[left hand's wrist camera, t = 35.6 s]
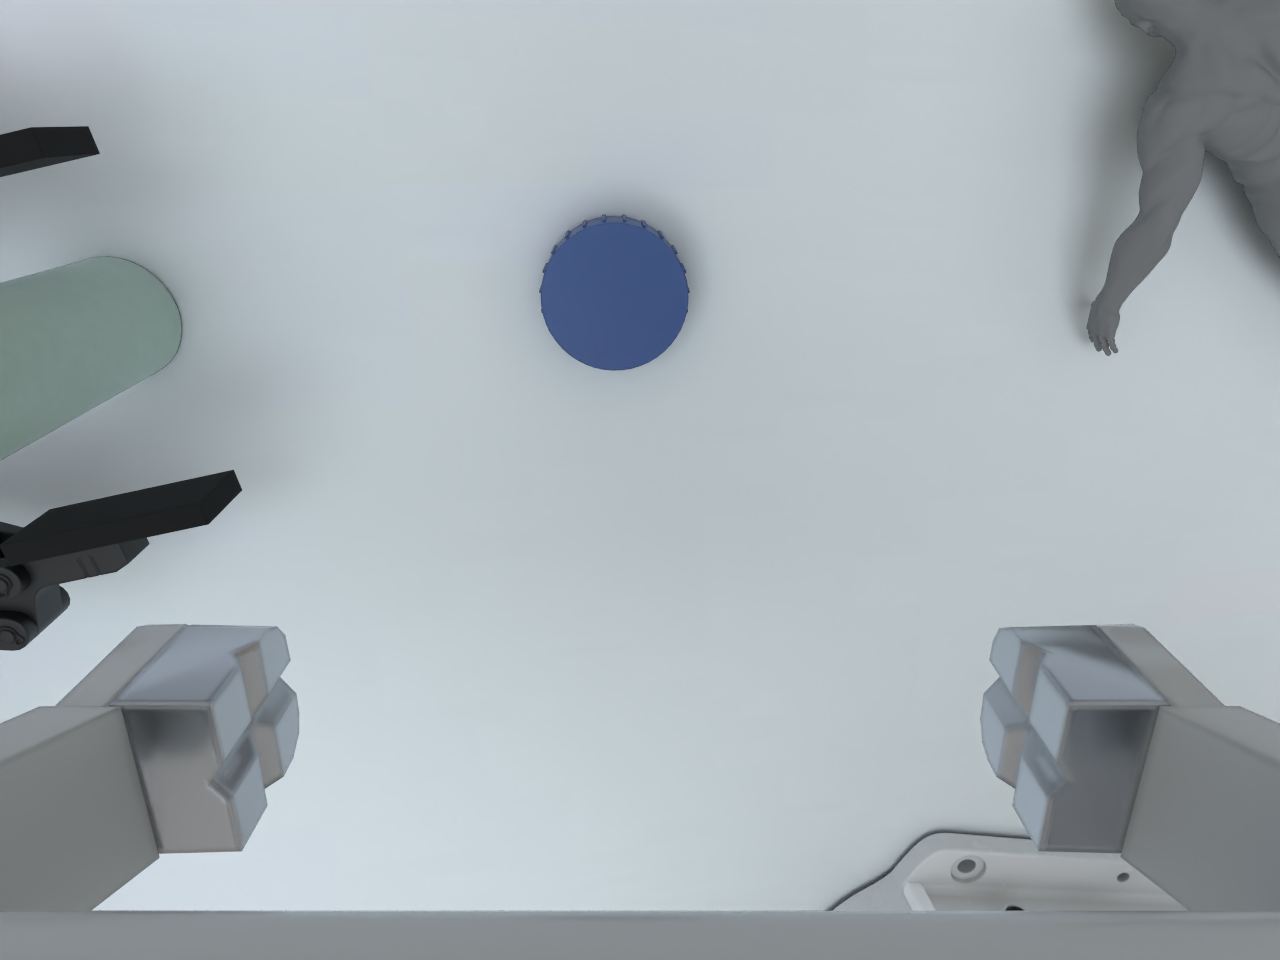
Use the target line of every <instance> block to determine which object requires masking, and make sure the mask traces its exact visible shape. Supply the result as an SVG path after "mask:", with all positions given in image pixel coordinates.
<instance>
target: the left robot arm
mask: <svg viewBox="0 0 1280 960" xmlns="http://www.w3.org/2000/svg"><path fill="white" fill-rule="evenodd" d="M289 662H290V655H289V651H288V646H287V641H286V636H285V634H284V633H283V632H282V631H281V630H280V629H279V628H278V627H277V626H228V625H190V626H189V625H187V624H164V625H145V626H139V627H136V628H135V629H134V630H133V631H132V632H131V633H130V634H129V635H128V636H127V637H126V638H125V639H124V640H123V641H122V642H121V643H120V644H119V645H118V646H117V647H116V648H115V649H114V650H112V651H111V652H110V653H109V654H108V655H107V656H106V657H105V658H104V659H103V660H102V661H101V662H100V663H99V664H98V665H97V666H96V667H95V668H94V669H93V670H92V671H91V672H90V673H89V674H88V675H87V676H86V677H85V678H84V679H83V680H81V681H80V682H79V683H78V684H77V685H76V686H75V687H74V688H73V689H72V690H71V691H70V692H69V693H68V694H67V695H66V696H65V697H64V698H63V699H62V700H61V701H60V702H59V703H58V704H57V705H56V706H42V707H38V708H35V709H33V710H31V711H28V712H26V713H24V714H21V715H19V716H17V717H15V718H12V719H10V720H8V721H5V722H3V723H1V724H0V960H1280V724H1279V723H1277V722H1275V721H1272V720H1270V719H1268V718H1265V717H1263V716H1261V715H1259V714H1256V713H1254V712H1252V711H1249V710H1247V709H1245V708H1242V707H1238V706H1224V705H1223V704H1222V703H1221V702H1220V701H1219V700H1218V699H1217V698H1216V697H1215V696H1214V695H1213V694H1212V693H1211V692H1210V691H1209V690H1208V689H1207V688H1206V687H1205V686H1204V685H1203V684H1202V683H1201V682H1200V681H1199V680H1198V679H1197V678H1196V677H1195V676H1193V675H1192V674H1191V673H1190V672H1189V671H1188V670H1187V669H1186V668H1185V667H1184V666H1183V665H1182V664H1181V663H1180V662H1179V661H1178V660H1177V659H1176V658H1175V657H1174V656H1173V655H1172V654H1171V653H1170V652H1169V651H1168V650H1167V649H1166V648H1165V647H1164V646H1163V645H1162V644H1161V643H1160V642H1158V641H1157V640H1156V639H1155V638H1154V637H1153V636H1152V635H1151V634H1150V633H1149V632H1148V631H1147V630H1146V629H1145V628H1143V627H1140V626H1137V625H1135V624H1114V625H1083V626H1042V627H1008V628H999V630H998V632H997V634H996V636H995V638H994V640H993V644H992V649H991V655H990V662H991V663H992V665H993V666H994V668H995V670H996V671H997V673H998V674H999V676H1000V677H999V679H998V680H997V681H996V682H995V683H994V684H993V685H992V686H991V687H990V688H989V689H988V690H987V691H986V692H985V693H984V695H983V703H982V711H981V718H980V720H981V731H982V742H983V746H984V749H985V752H986V756H987V759H988V761H989V763H990V765H991V767H992V769H993V771H994V773H995V775H996V777H998V778H1000V779H1001V780H1003V781H1004V782H1006V783H1007V784H1009V785H1010V786H1012V787H1013V788H1015V794H1014V800H1013V807H1014V809H1015V811H1016V813H1017V814H1018V816H1019V818H1020V820H1021V821H1022V823H1023V825H1024V827H1025V828H1026V830H1027V832H1028V834H1029V836H1030V837H1031V839H1032V840H1030V839H1018V838H1006V837H993V836H981V835H969V834H956V833H936V834H932V835H930V836H927V837H926V838H924V839H922V840H921V841H920V842H918V843H917V844H916V845H915V846H914V847H913V848H912V849H911V850H910V851H909V852H908V853H907V854H906V855H905V856H904V857H903V858H902V860H901V861H900V862H899V863H898V864H897V865H896V867H895V868H894V869H893V870H892V871H891V872H890V873H889V874H888V875H886V876H885V877H884V878H882V879H881V880H879V881H877V882H876V883H874V884H872V885H871V886H869V887H867V888H865V889H863V890H862V891H860V892H858V893H856V894H855V895H853V896H851V897H850V898H848V899H847V900H845V901H844V902H842V903H841V904H840V905H838V906H837V907H836V908H835V909H833V910H832V911H91V910H93V909H94V908H95V907H96V906H98V905H99V904H100V903H102V902H103V901H104V900H105V899H107V898H108V897H109V896H111V895H112V894H113V893H114V892H116V891H117V890H118V889H120V888H121V887H122V886H124V885H125V884H126V883H127V882H129V881H130V880H131V879H133V878H134V877H135V876H136V875H138V874H139V873H140V872H142V871H143V870H144V869H145V868H147V867H148V866H149V865H151V864H152V863H153V862H154V861H156V860H157V859H158V858H159V854H161V853H197V852H232V851H242V850H243V848H244V846H245V845H246V843H247V841H248V839H249V837H250V836H251V834H252V832H253V830H254V829H255V827H256V825H257V823H258V821H259V820H260V818H261V816H262V814H263V813H264V811H265V809H266V807H267V800H266V794H265V788H267V787H268V786H270V785H271V784H273V783H274V782H276V781H277V780H279V779H280V778H282V777H284V775H285V773H286V771H287V769H288V767H289V765H290V763H291V761H292V759H293V757H294V752H295V748H296V744H297V739H298V735H299V708H298V702H297V695H296V693H295V692H294V691H293V690H292V689H291V688H290V687H289V686H288V685H287V684H286V683H285V682H284V681H283V680H282V679H281V677H280V676H281V674H282V673H283V671H284V670H285V668H286V666H287V665H288V663H289Z"/></svg>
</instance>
